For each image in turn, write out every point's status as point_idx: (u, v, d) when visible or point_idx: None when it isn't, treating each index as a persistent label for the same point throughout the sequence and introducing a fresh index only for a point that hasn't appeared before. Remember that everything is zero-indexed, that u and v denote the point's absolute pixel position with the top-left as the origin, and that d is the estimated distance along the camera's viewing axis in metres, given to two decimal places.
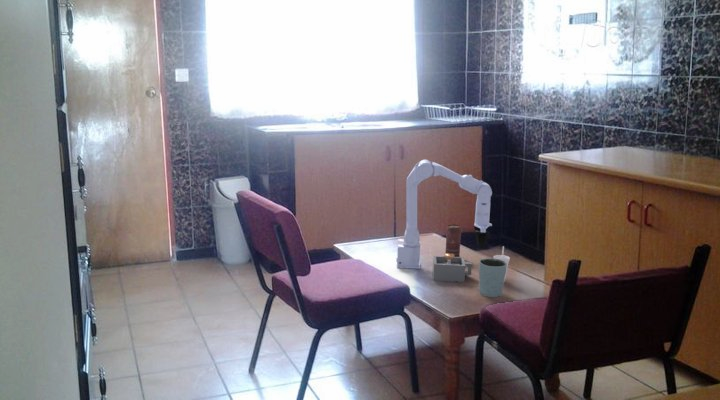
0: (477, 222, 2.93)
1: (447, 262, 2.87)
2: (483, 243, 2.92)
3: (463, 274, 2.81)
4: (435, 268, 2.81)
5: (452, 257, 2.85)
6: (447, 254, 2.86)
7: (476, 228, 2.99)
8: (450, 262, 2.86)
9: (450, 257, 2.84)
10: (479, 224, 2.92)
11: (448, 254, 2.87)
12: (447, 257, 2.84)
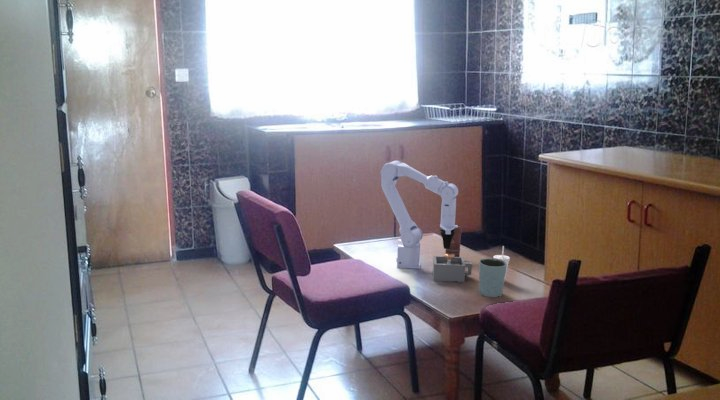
0: (442, 224, 2.89)
1: (447, 262, 2.87)
2: (448, 243, 2.90)
3: (463, 274, 2.81)
4: (435, 268, 2.81)
5: (452, 257, 2.85)
6: (447, 254, 2.86)
7: None
8: (450, 262, 2.86)
9: (450, 257, 2.84)
10: (444, 226, 2.88)
11: (448, 254, 2.87)
12: (447, 257, 2.84)
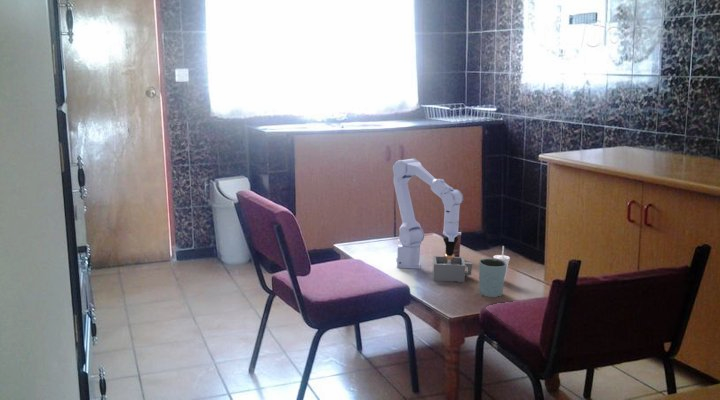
0: (445, 231, 2.82)
1: (447, 262, 2.87)
2: (451, 250, 2.85)
3: (463, 274, 2.81)
4: (435, 268, 2.81)
5: (452, 257, 2.85)
6: (447, 255, 2.86)
7: None
8: (450, 262, 2.86)
9: (450, 257, 2.84)
10: (447, 233, 2.82)
11: None
12: (447, 257, 2.84)
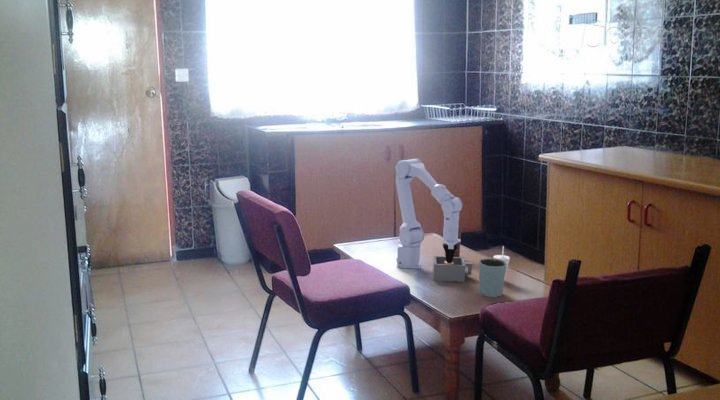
0: (445, 238, 2.83)
1: None
2: (451, 257, 2.85)
3: (463, 274, 2.81)
4: (435, 268, 2.81)
5: (452, 264, 2.85)
6: None
7: None
8: None
9: None
10: (447, 240, 2.82)
11: None
12: None
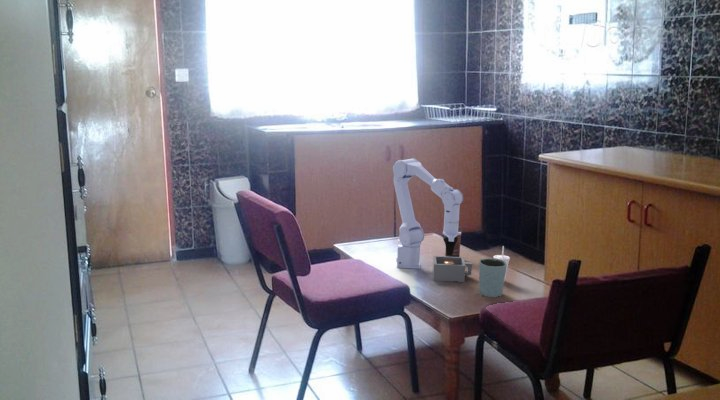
0: (445, 231, 2.82)
1: None
2: (451, 250, 2.85)
3: (463, 274, 2.81)
4: (435, 268, 2.81)
5: None
6: (447, 262, 2.86)
7: None
8: None
9: None
10: (447, 233, 2.82)
11: (448, 261, 2.87)
12: None
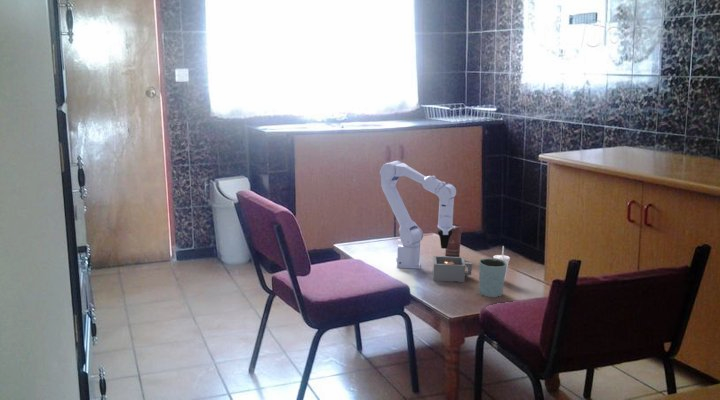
0: (440, 224, 2.88)
1: None
2: (446, 243, 2.91)
3: (463, 274, 2.81)
4: (435, 268, 2.81)
5: None
6: (447, 262, 2.86)
7: None
8: None
9: None
10: (442, 226, 2.87)
11: (448, 261, 2.87)
12: None
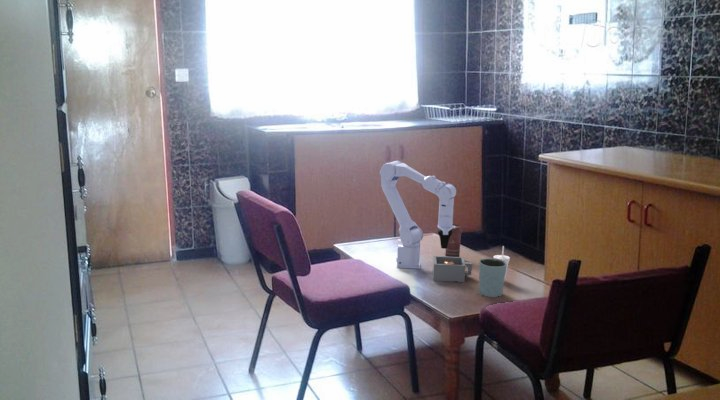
0: (440, 224, 2.88)
1: None
2: (446, 243, 2.91)
3: (463, 274, 2.81)
4: (435, 268, 2.81)
5: None
6: (447, 262, 2.86)
7: None
8: None
9: None
10: (442, 226, 2.87)
11: (448, 261, 2.87)
12: None
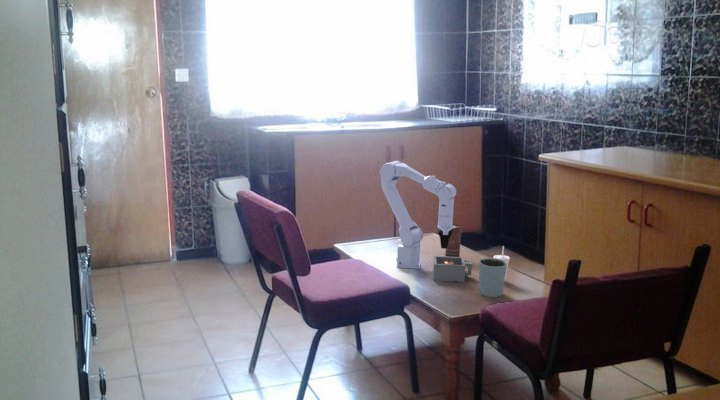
0: (440, 224, 2.88)
1: None
2: (446, 243, 2.91)
3: (463, 274, 2.81)
4: (435, 268, 2.81)
5: None
6: (447, 262, 2.86)
7: None
8: None
9: None
10: (442, 226, 2.87)
11: (448, 261, 2.87)
12: None
